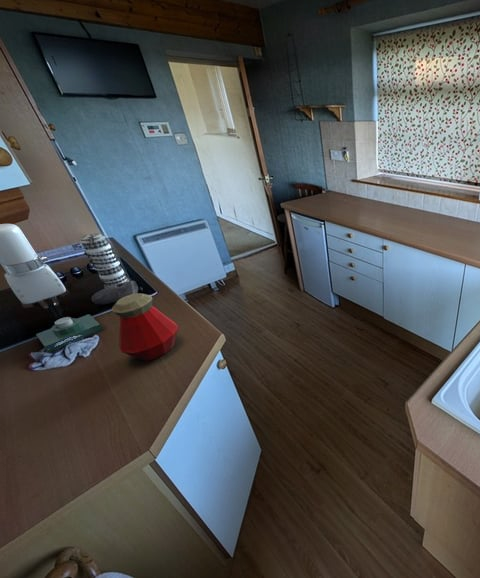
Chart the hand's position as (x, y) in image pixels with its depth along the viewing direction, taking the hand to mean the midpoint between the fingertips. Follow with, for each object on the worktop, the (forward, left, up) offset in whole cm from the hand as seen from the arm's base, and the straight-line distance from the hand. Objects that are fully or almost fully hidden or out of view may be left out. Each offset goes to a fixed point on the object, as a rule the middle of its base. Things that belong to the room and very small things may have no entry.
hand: (57, 315), depth 97 cm
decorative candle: (+7, +31, -9) cm, 33 cm away
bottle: (+28, -23, -9) cm, 37 cm away
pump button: (0, 0, -4) cm, 4 cm away
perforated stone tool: (+9, +20, -9) cm, 24 cm away
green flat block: (0, 0, -8) cm, 8 cm away
